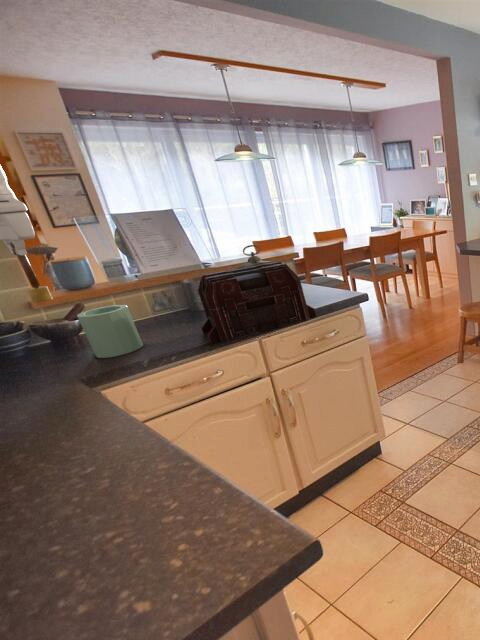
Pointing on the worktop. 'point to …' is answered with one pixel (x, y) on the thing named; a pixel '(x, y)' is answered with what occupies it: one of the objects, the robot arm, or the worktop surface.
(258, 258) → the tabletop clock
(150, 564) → the worktop surface
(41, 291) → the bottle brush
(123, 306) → the jar
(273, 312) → the crate
